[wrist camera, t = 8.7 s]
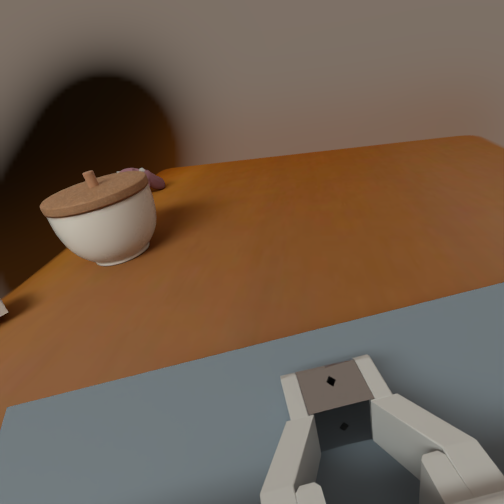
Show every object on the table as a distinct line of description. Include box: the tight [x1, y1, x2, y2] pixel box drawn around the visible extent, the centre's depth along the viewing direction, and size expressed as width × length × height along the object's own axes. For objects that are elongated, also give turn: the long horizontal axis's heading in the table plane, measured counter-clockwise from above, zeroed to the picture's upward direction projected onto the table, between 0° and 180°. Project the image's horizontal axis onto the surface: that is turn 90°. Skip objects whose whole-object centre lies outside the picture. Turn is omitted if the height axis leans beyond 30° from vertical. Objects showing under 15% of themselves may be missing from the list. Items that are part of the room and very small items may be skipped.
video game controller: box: [117, 168, 165, 189], centre depth 69 cm, size 10×5×7 cm, turn 70°
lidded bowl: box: [40, 170, 156, 266], centre depth 43 cm, size 13×13×11 cm
